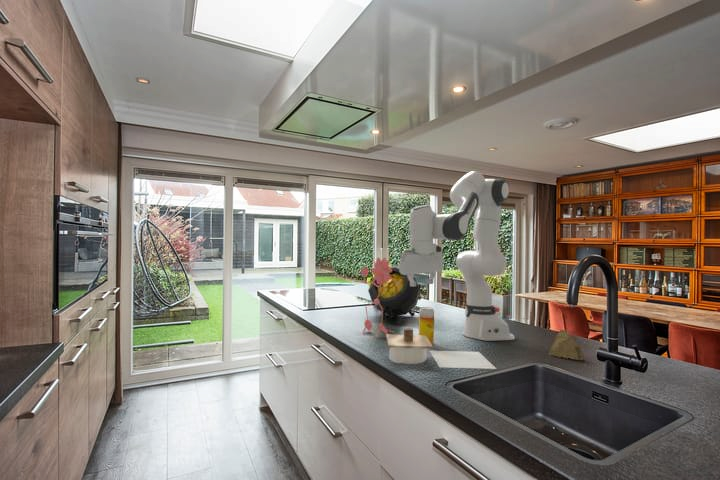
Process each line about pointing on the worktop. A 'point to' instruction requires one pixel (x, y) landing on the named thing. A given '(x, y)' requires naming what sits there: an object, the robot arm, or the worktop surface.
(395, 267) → the cauldron
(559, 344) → the rock
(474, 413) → the worktop surface
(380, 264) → the figurine
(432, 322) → the beer can
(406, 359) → the bowl
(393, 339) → the lid
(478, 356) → the mat
